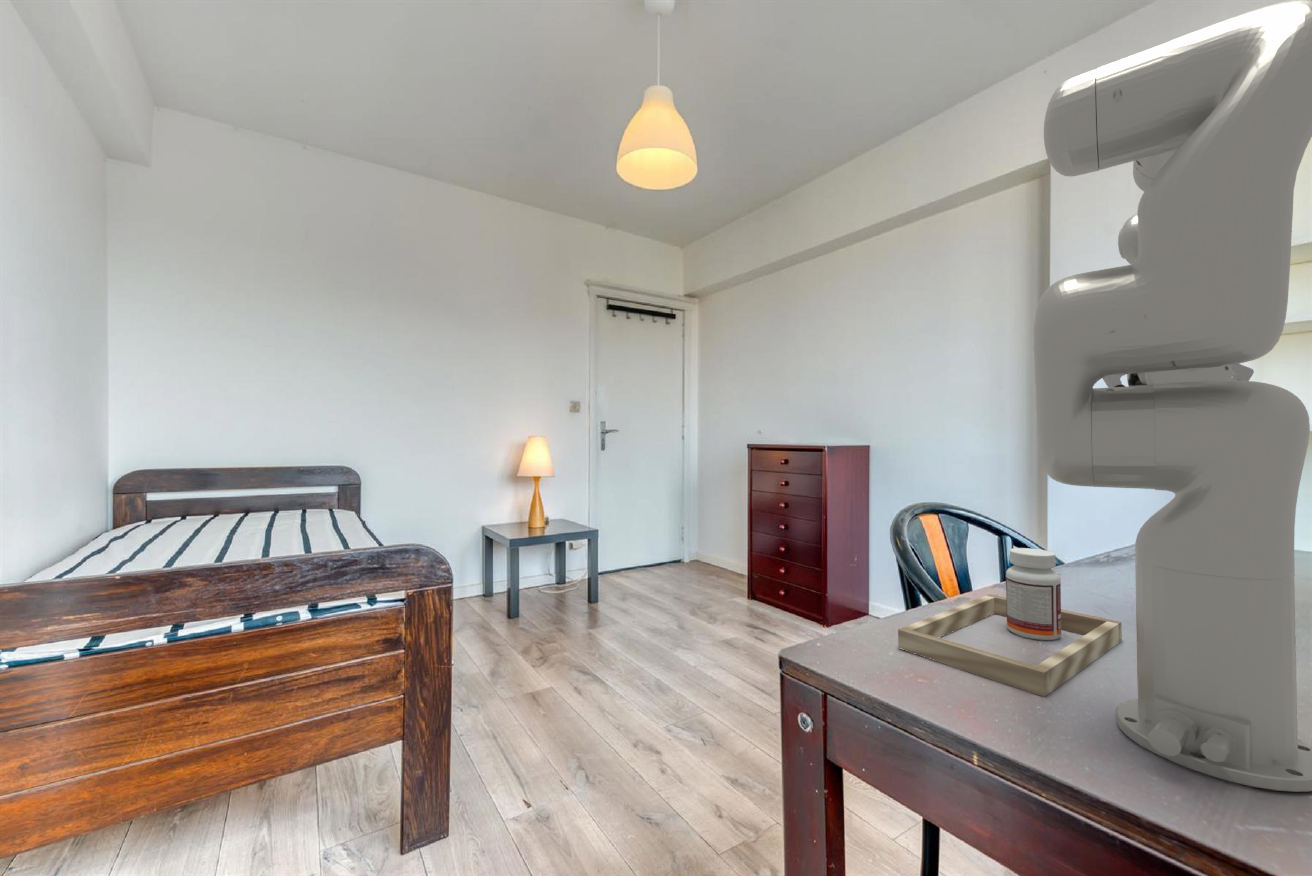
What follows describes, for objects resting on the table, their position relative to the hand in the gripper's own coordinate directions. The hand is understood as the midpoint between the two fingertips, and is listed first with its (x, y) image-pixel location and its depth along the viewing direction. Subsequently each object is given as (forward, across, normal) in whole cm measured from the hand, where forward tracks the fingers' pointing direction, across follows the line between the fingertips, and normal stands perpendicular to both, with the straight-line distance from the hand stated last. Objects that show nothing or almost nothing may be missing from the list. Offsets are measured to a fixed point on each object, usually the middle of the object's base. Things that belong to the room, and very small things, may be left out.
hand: (1176, 430), depth 75 cm
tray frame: (+28, -26, -11) cm, 40 cm away
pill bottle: (+28, -21, -6) cm, 36 cm away
